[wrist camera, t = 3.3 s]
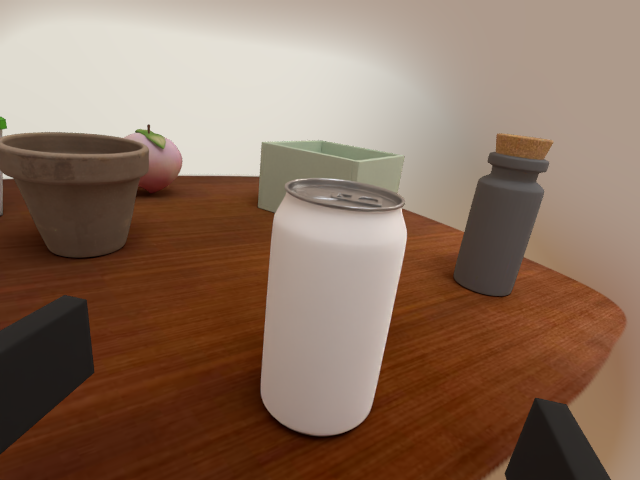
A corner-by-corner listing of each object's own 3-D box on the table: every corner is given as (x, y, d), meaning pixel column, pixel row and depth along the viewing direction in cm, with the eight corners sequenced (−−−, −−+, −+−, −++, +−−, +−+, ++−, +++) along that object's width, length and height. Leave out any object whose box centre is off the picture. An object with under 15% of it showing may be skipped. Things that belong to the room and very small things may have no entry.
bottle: (455, 289, 37) (497, 133, 32) (450, 267, 43) (486, 131, 37) (517, 302, 36) (571, 143, 31) (505, 277, 41) (549, 139, 36)
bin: (393, 214, 61) (404, 155, 58) (348, 235, 49) (359, 161, 45) (314, 193, 69) (320, 140, 65) (257, 207, 56) (261, 141, 53)
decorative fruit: (106, 189, 56) (100, 119, 52) (158, 184, 62) (156, 121, 58) (138, 205, 50) (134, 128, 47) (191, 197, 57) (191, 129, 53)
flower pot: (126, 276, 32) (119, 157, 28) (-21, 267, 30) (-48, 140, 27) (167, 231, 42) (164, 141, 39) (59, 223, 41) (47, 128, 38)
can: (278, 349, 25) (295, 170, 21) (374, 370, 24) (412, 188, 20) (241, 424, 19) (254, 194, 15) (367, 456, 18) (418, 221, 14)
